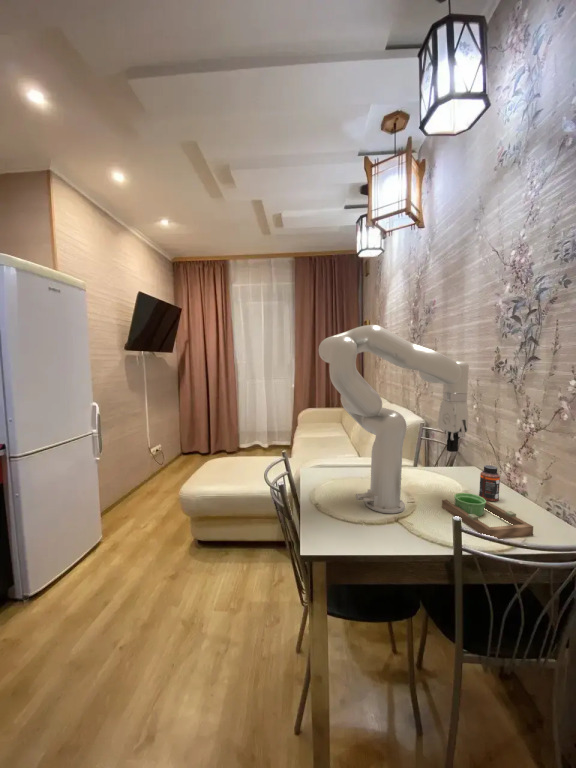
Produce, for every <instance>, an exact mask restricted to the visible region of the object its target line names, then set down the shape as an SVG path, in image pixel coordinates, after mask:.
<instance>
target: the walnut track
mask: <svg viewBox="0 0 576 768" xmlns="http://www.w3.org/2000/svg"><path fill="white" fill-rule="evenodd" d="M441 508H442V509H444V510H445V511H447V512H448V513H449V514H451V515H452V516H454V517H455V516H459V517H461V518H462V521H461V522H463V523H464V524H466V525H467V526H468V527H470V528H471V529H473V530H475V531H476V532H477V533H478V534H480V533H483V534H486V535H490V536H494V537H497V539H505V538H517V537H518V538H519V537H527V536H528V537H529V536H533V535H534V526H533V525H532V524H530V523H527V521H524V520H523V519H521V518H519V517H517V513H515V512H513V511H512V510H507V511H505V510H504V509H502V508H501V507H499V506H496V505H495V504H493V503H491V502H490V501H487V500H486V504H485V507H484V508H485V509H487V510H488V511H490V512H492V513H493V514H495V515H497V516H499V517H500V518H503V519H504V520H506V521H508V522H509V523H511V524H513V525H501V526H489V525H487V524H485V523H484V522H483V521H482V520H479V519H480V518H479V517H480V516H476V515H475V514H468V513H467V512H465V511H464V510H462V509H460V508H459V507H457V506H456V505H455V503H453V502H451V501H449V500H448V499H441Z"/></svg>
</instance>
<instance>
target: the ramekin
mask: <svg viewBox="0 0 576 768" xmlns="http://www.w3.org/2000/svg"><path fill="white" fill-rule="evenodd" d="M453 498H454V505H456V506H457V507H459V508H460V509H462V510H464V511H465V512H467V513H468V514H475V515H476V516H478V517H481V515H482V516H483V515H484V514H483V513H484V512H485V510H484V507H485V504H486V501H487V500H485V499H484V498H482V497H480V496H479V495H477V494H473V493H468V492H458V493H455V494H454V497H453Z"/></svg>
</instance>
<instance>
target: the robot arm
mask: <svg viewBox="0 0 576 768" xmlns="http://www.w3.org/2000/svg"><path fill="white" fill-rule="evenodd" d="M361 353H369V354H372V355H375V356H376V357H378V358H381V359H383V360H384V361H386V362H389V363H390V364H392V365H394V366H396V367H400V368H403V369H408V370H411V371H417V372H418V374H419V377H420V378H421V379H422V380H423V381H424V382H427V383H430V384H431V383H432V384H441V385H442V400H441V401H440V407H439V410H438V411H439V412H438V422H437V426H438V428H439V429H441V430H442V432H443V433H445V438H446V451H448V452H449V453H451V452H452V453H453V452H454V453H455V452H458V451H459V441H460V439H461V438H465V437H466V433H467V432H468V431H469V430H468V429H469V409H468V407H469V406H468V391H469V390H468V389H469V372H470V371H469V369H470V366H469V362H467V361H456V360H454V359H452V358H451V357H449V356H447V355H444V354H443V353H442V352H438V351H436V350H433V349H430V348H428V347H425V346H422V345H420V344H418V343H417V344H416V343H414V342H411V341H409V340H407V339H405V338H404V337H402V336H399V335H398V334H396V333H394V332H392V331H390V330H389V329H386V328H385V327H383V326H380V325H378V324H366V325H361V326H357V327H354V328H352V329H349V330H347V331H344V332H341V333H337V334H335V335H331V336H329V337H326V338H324V339H323V340H321V342H320V343H319V346H318V355H319V357H320V359H321V360H322V361H324V363H327V364H329V367H328V368H329V378H330V382H331V384H332V385H333V387H334V389H335V390H337V392H338V393H339V394H340V402H341V406H342V407H343V409H344V410H345V411H346V413H347V414H348V415H349V416H350V417H351V419H353V420H354V421H355V422H356V423H357V424H358V425H359V426H360V427H361V428H362V429H363V430H365V431H366V432H368V433H370V434H373V435H374V436H375V437H374V441H373V444H372V446H371V447H372V448H371V461H370V462H371V467H370V468H371V469H370V486H369V487H370V488H369V489H367V491H366V492H365V493H356V494H355V500H356V501H362V502H363V503H364V504H365V506H366V507H367V508H369V509H370V510H372V511H373V512H374V511H375V512H377V513H383V514H398V513H402V512H404V511H405V509H406V504H405V501H403V500H401V492H402V490H401V489H402V487H401V486H402V468H403V451H404V450H403V447H404V441H405V438H406V435H407V434H406V433H407V427H408V426H407V421H406V419H405V417H404V416H403V415H402V414H401V413H399V412H398V411H396V410H394V409H390V408H385V407H383V401H382V397H381V395H380V394H379V393H378V392H377V390H375V389H374V387H372V386H371V385H370V384H369V382H368V381H366V379H365V378H364V377H363V376H362V374H360V372H359V371H358V369H357V356H358V354H361Z"/></svg>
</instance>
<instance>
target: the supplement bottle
mask: <svg viewBox="0 0 576 768" xmlns="http://www.w3.org/2000/svg"><path fill="white" fill-rule="evenodd" d="M500 482H501V475H500V474H499V473H498V467H497V466H495V465H491V464H490V465H488V464H487V465H483V471H481V472H480V474H479V491H478V496H480V497H482V498H484V499H485V500H486V501H488V502H497V501H499V499H500V498H499V497H500V484H501V483H500Z"/></svg>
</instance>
